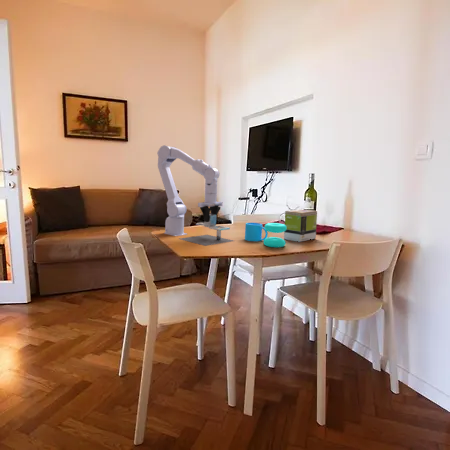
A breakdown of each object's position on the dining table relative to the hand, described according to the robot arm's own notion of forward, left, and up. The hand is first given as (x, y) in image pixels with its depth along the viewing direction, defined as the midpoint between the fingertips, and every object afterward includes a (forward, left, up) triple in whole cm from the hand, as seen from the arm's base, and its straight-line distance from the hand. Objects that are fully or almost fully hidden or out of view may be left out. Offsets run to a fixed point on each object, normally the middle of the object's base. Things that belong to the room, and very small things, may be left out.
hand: (209, 221), depth 165 cm
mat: (+3, -5, -8) cm, 10 cm away
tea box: (+27, +38, -9) cm, 48 cm away
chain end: (0, 0, -3) cm, 3 cm away
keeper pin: (+6, 0, -8) cm, 10 cm away
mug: (+17, +15, -9) cm, 24 cm away
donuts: (+29, +13, -9) cm, 33 cm away
